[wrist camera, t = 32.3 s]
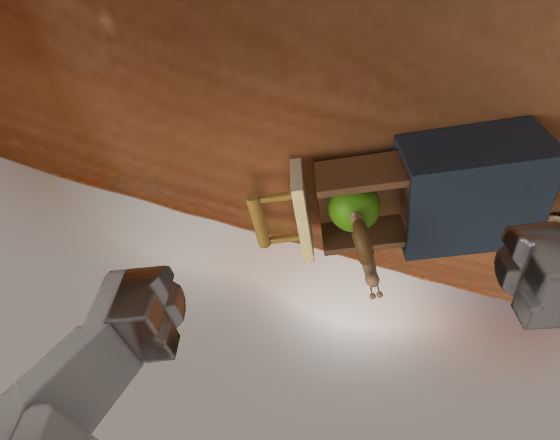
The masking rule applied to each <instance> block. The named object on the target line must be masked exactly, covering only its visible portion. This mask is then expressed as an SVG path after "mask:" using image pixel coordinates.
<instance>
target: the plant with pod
mask: <svg viewBox="0 0 560 440" xmlns="http://www.w3.org/2000/svg"><path fill="white" fill-rule="evenodd" d="M555 220H560V217H558V216H553V215H551V216H549V217H548V219H547V221H555Z"/></svg>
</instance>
